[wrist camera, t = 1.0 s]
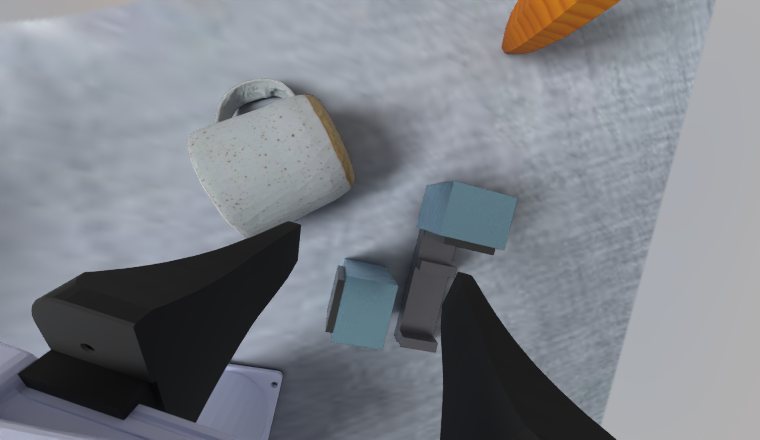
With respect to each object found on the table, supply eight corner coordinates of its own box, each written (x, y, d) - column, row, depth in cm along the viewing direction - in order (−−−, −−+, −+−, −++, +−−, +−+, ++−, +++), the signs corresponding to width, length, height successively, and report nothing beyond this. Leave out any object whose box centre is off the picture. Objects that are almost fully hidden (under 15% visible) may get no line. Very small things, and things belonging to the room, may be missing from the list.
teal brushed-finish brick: (384, 266, 24) (398, 285, 19) (372, 316, 24) (382, 349, 19) (339, 256, 24) (339, 273, 18) (327, 308, 24) (323, 340, 18)
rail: (433, 341, 25) (467, 391, 19) (385, 333, 24) (403, 382, 18) (470, 195, 25) (518, 194, 18) (423, 183, 24) (455, 176, 17)
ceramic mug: (358, 189, 23) (367, 182, 16) (268, 235, 23) (231, 251, 15) (296, 69, 22) (273, -1, 15) (198, 113, 21) (120, 63, 14)
